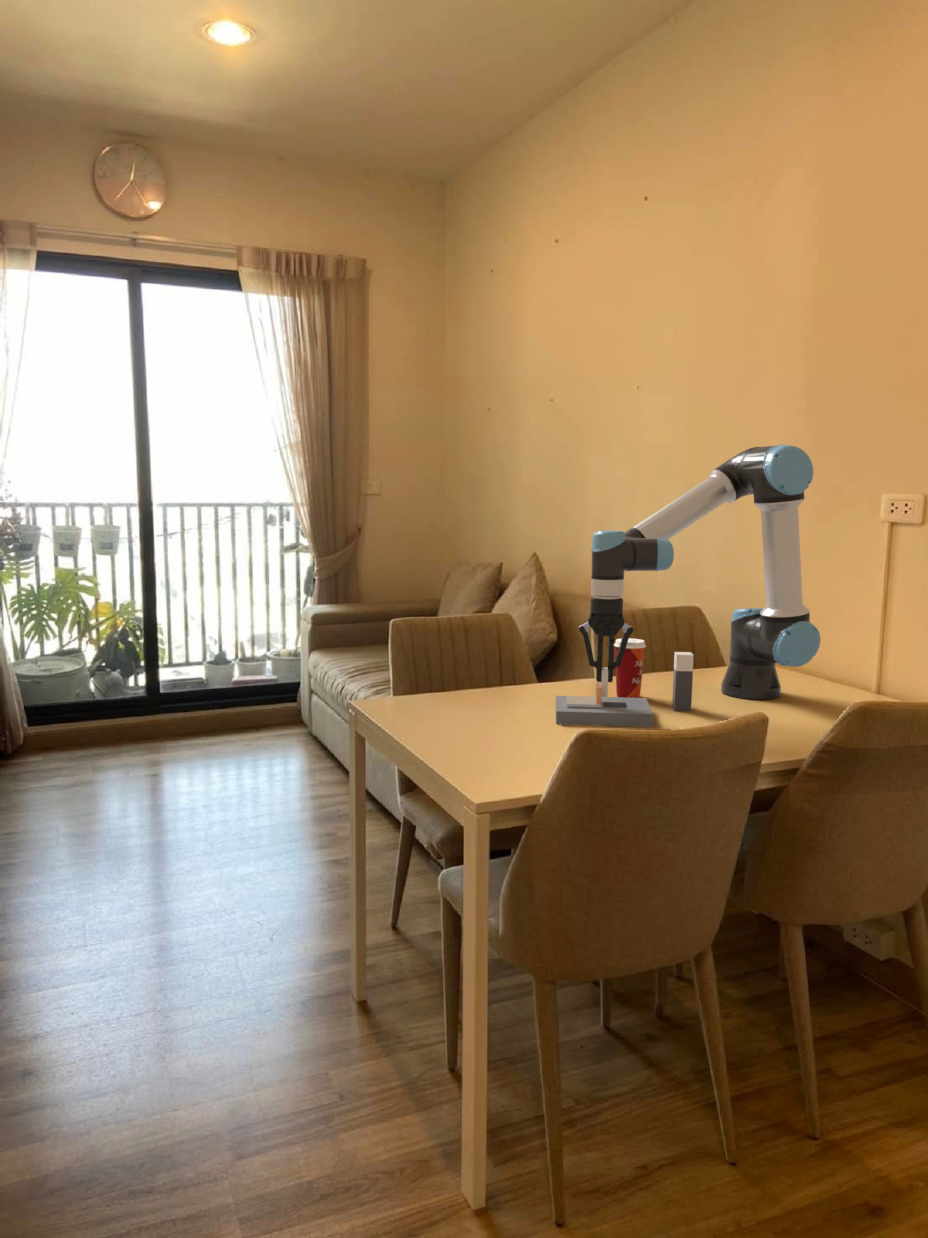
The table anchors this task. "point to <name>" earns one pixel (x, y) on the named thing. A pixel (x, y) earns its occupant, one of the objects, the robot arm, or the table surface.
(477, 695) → the table surface
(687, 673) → the grey white tall block
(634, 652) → the coffee cup
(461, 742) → the table surface
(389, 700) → the table surface
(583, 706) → the light gray plate
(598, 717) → the block
